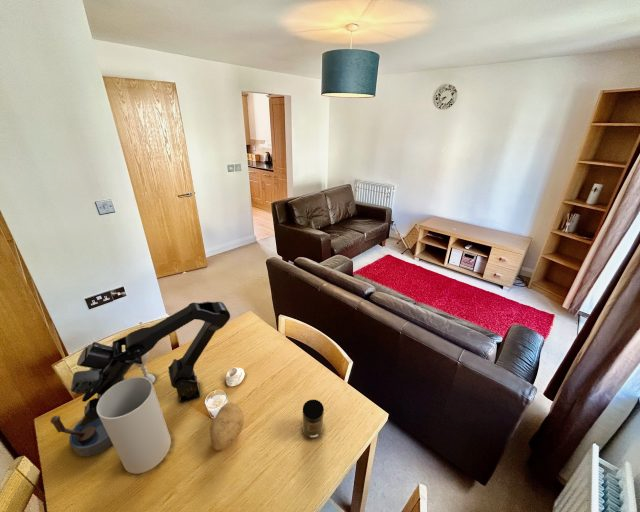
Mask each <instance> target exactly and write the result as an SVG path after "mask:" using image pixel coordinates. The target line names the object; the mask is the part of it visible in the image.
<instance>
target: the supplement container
mask: <svg viewBox="0 0 640 512" xmlns="http://www.w3.org/2000/svg"><path fill="white" fill-rule="evenodd" d="M324 411H325V408H324V404H323V403H322V402H321V401H320V400H318V399H309V400H307V401H305V402H304V404H303V406H302V432H303V434H304V435H305V437H306V438H307V439H311V440H314V439H315V440H316V439H318V438H319V437H320V436H321V435H322V433H323V428H324V414H325V412H324Z"/></svg>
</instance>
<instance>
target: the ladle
mask: <svg viewBox="0 0 640 512" xmlns="http://www.w3.org/2000/svg"><path fill="white" fill-rule="evenodd" d="M50 424H53V426H54V428H55V430H56V431H57V433H65V434H69V435H70V434H73V435H77V439H78V441H79V442H80V443H86V442H88V441H90V440H91V439H93V438H94V436H95V435H96V429H95V428H94V427H93V426H90V427H87V428H85V429H83V430H82V431H81V432H79V431H74V430H73V429H69V428H66V427H65V425H64V424H63V422H62V420H61V416H60V415H53V417H51V418H50Z"/></svg>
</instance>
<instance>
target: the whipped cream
mask: <svg viewBox="0 0 640 512" xmlns="http://www.w3.org/2000/svg"><path fill="white" fill-rule="evenodd" d="M245 375H246V374H245V371H244V369H243V368H241V367H236V366H233V367H231V368H230V369H229V371H228V372H227V373H226V375H225V378H226V379H225V382H226V383H225V384H226V385H227V386H228V387H236V386H239V385H240V384H241V383H242V382H243V380H244V379H245Z"/></svg>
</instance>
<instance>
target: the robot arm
mask: <svg viewBox="0 0 640 512" xmlns="http://www.w3.org/2000/svg"><path fill="white" fill-rule="evenodd" d="M230 319H231V314H230V311H229V310H228V308H227V306H226V305H225V304H224V302H223V301H202V302H191V303H189V304H188V305H187V306H185V307H184V308H182V309H180V310H179V311H176V312H175V313H173V314H171V315H169V316H168V317H166V318H164V319H163V320H161V321H159V322H157V323H155V324H154V325H151V326H147V327H141V328H139V329H137V330H134V331H132V332H131V331H130V333H128V334H127V335H125V336H123V337H121V338H118V339H116V340H113V341H112V345H111V346H110V345H106V344H103V343H100V342H96V341H93V342H92V343H91V344H88V345H87V346H85V347H84V348H83V350H82V352H81V353H80V354H79V357H78V359H77V361H76V366H78V367H84V368H88V369H89V370H79V371H78V370H77V371H76V372H74V373H73V376H72V380H71V384H70V385H71V386H70V392H72V393H75V394H76V395H80V394H83V397H82V399H81V402H84V403H85V402H87V401H88V402H87V403H86V405H85V406H84V411H83V414H84V416H83V417H82V418H81V419H82V421H81V423H80V425H79V426H85V425H86V424H88V423H90V422H92V421H94V420H96V419H98V418H100V417H99V415H98V413H97V404H98V401H99V400H100V398H101V397H102V395H103V394H104V393H105V392H106V391H107V390H108V389H110V388H111V387H112V386H114V385H115V384H117V383H119V382H121V381H123V380H125V376H126V374H127V373H128V372H129V371H130V369H131V368H132V367H133V366H134V363H136V364H142V363H143V362H142V356H143V355H145V354H146V353H147V352H150V351H152V349H154V348H155V346H156V345H157V344H158V343H159V342H160V341H162V339H164V338H166V337H167V336H169V335H171V334H172V333H174V332H176V331H177V330H179V329H181V328H183V327H185V326H186V325H188V324H189V323H191V322H193V321H194V320H199V321H203V325H202V326H201V328H200V329H199V331H198V333H197V334H196V335H195V337H194V339H193V340H192V342H191V343H190V345H189V347H188V348H187V349H186V351H185V353H184V354H183V356H182V357H181V358H178V359H176V358H173V360H172V362H171V364H170V365H169V366H168V367H167V368H168V376H169V380H170V385H171V387H172V388H173V389H176V393H177V397H178V399H180V400H179V401H180V403H181V404H184V403H186V402H190V401H193V400H195V399H198V398H201V388H200V382H199V380H198V376H197V375H196V373H195V370H194V368H195V365H196V363H197V361H198V360H199V358H200V357H201V355H202V353H203V352H204V351H205V349H206V348H207V346H208V344H209V343H210V341H211V340H212V338H213V336H214V335H215V333H216V332H217V331H219V330H220V329H222V328H224V326H225V325H226V324H227V323H228V322H229V321H230ZM123 346H124V348H125V351H124V350H123ZM96 394H97V397H94V396H95V395H96ZM93 397H94V398H93Z"/></svg>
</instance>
